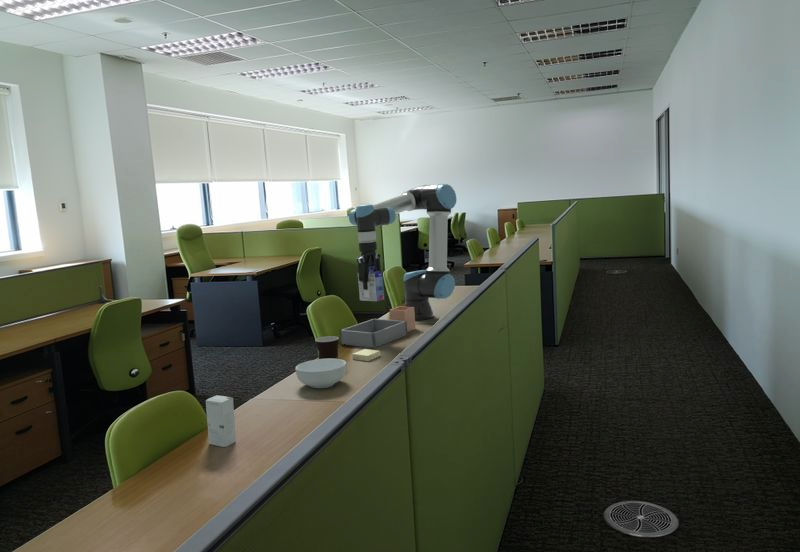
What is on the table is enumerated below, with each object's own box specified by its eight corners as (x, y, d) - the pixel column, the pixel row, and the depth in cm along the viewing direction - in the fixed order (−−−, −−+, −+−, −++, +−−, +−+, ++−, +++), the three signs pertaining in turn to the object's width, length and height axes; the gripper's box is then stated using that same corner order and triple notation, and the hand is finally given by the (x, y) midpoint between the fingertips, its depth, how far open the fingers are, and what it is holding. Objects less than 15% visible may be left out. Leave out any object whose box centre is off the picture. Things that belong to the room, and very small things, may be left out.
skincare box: (208, 444, 163) (203, 400, 161) (220, 438, 166) (216, 394, 165) (225, 447, 160) (220, 402, 158) (238, 441, 163) (233, 397, 162)
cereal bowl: (354, 377, 213) (353, 357, 212) (337, 393, 198) (335, 372, 197) (309, 376, 218) (307, 357, 217) (288, 392, 202) (286, 371, 201)
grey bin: (374, 331, 282) (373, 318, 281) (407, 334, 272) (406, 321, 271) (340, 344, 263) (339, 330, 262) (374, 347, 252) (373, 333, 252)
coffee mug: (336, 368, 226) (334, 341, 225) (314, 368, 228) (311, 342, 227) (345, 359, 237) (343, 334, 236) (324, 359, 239) (322, 334, 238)
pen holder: (401, 327, 287) (399, 306, 286) (415, 328, 282) (414, 307, 281) (391, 331, 281) (389, 309, 279) (405, 332, 276) (404, 310, 275)
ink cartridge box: (385, 299, 265) (382, 265, 262) (377, 302, 260) (374, 268, 258) (367, 298, 270) (364, 265, 268) (359, 300, 266) (356, 267, 264)
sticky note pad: (365, 355, 244) (364, 349, 243) (380, 357, 239) (380, 350, 239) (352, 360, 238) (352, 353, 237) (368, 362, 233) (367, 355, 233)
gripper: (373, 239, 271) (377, 291, 275) (346, 244, 256) (351, 299, 260) (387, 239, 267) (391, 292, 270) (360, 244, 252) (365, 300, 255)
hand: (371, 295), depth 265 cm, fingers closed on ink cartridge box, 5 cm apart
